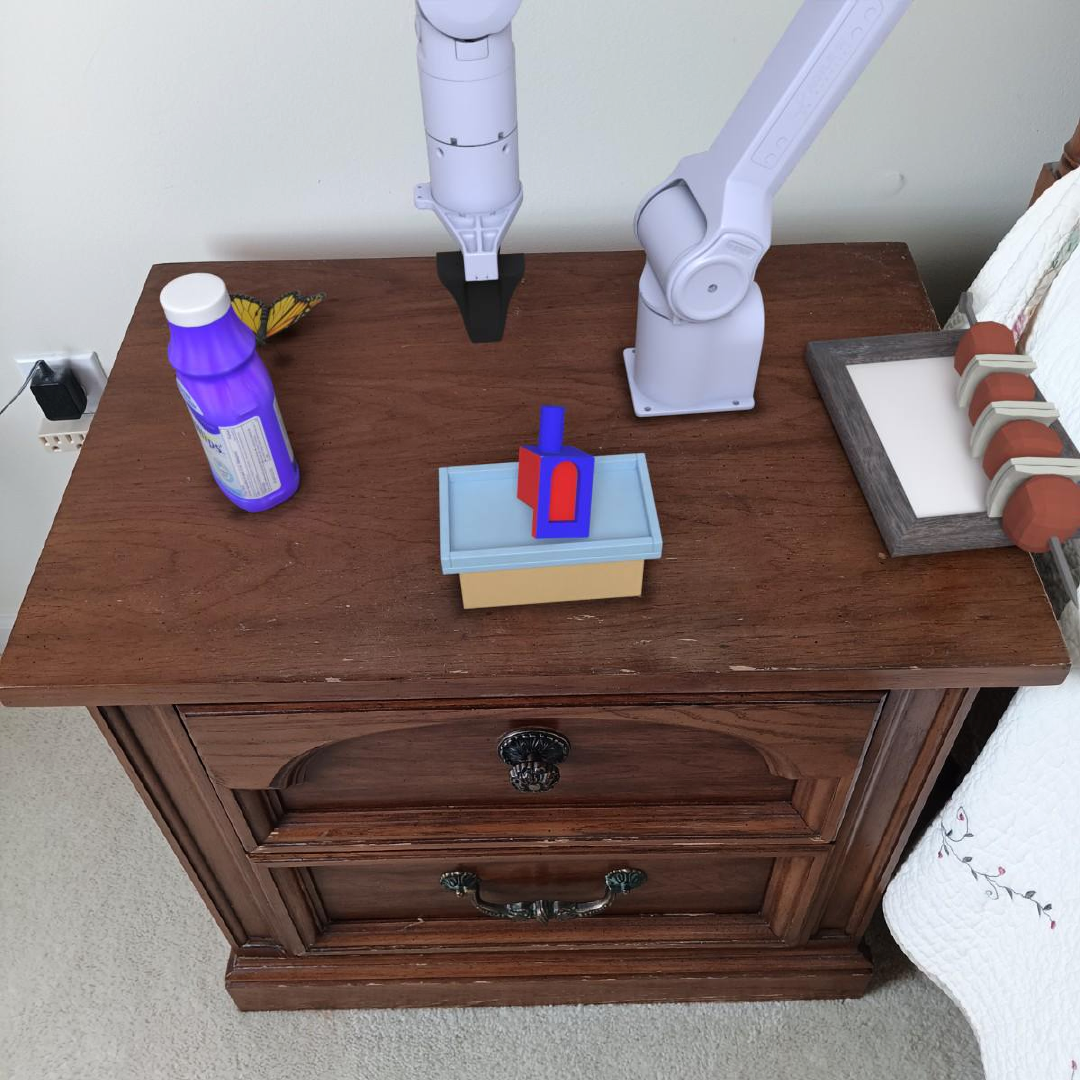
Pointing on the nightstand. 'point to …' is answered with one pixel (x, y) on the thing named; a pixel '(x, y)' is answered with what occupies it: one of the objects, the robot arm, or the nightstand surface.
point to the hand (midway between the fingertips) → (484, 305)
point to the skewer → (1017, 442)
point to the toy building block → (556, 481)
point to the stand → (546, 564)
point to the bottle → (228, 394)
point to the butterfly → (272, 313)
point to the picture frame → (912, 439)
